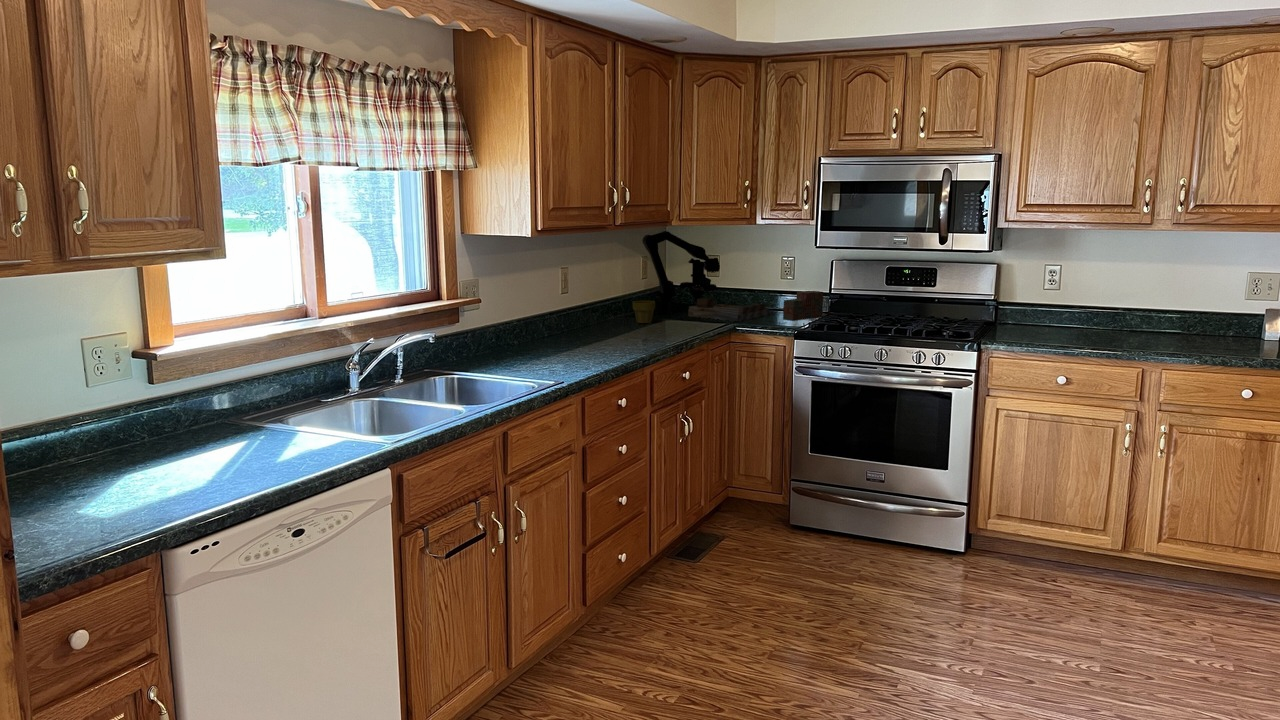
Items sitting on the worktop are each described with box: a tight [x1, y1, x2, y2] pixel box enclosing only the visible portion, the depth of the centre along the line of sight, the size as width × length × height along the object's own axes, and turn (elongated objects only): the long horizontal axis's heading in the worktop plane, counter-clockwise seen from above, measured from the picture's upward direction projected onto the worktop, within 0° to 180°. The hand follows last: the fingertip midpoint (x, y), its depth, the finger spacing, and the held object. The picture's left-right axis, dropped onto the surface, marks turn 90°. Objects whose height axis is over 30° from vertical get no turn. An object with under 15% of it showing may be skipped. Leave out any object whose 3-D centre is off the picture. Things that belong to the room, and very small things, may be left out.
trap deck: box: [687, 302, 770, 322], centre depth 441 cm, size 28×35×6 cm
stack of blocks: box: [782, 290, 824, 322], centre depth 430 cm, size 21×6×12 cm, turn 129°
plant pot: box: [632, 300, 656, 324], centre depth 415 cm, size 10×10×10 cm
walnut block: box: [696, 297, 715, 308], centre depth 447 cm, size 6×6×4 cm
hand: (697, 303), depth 450 cm, fingers closed
